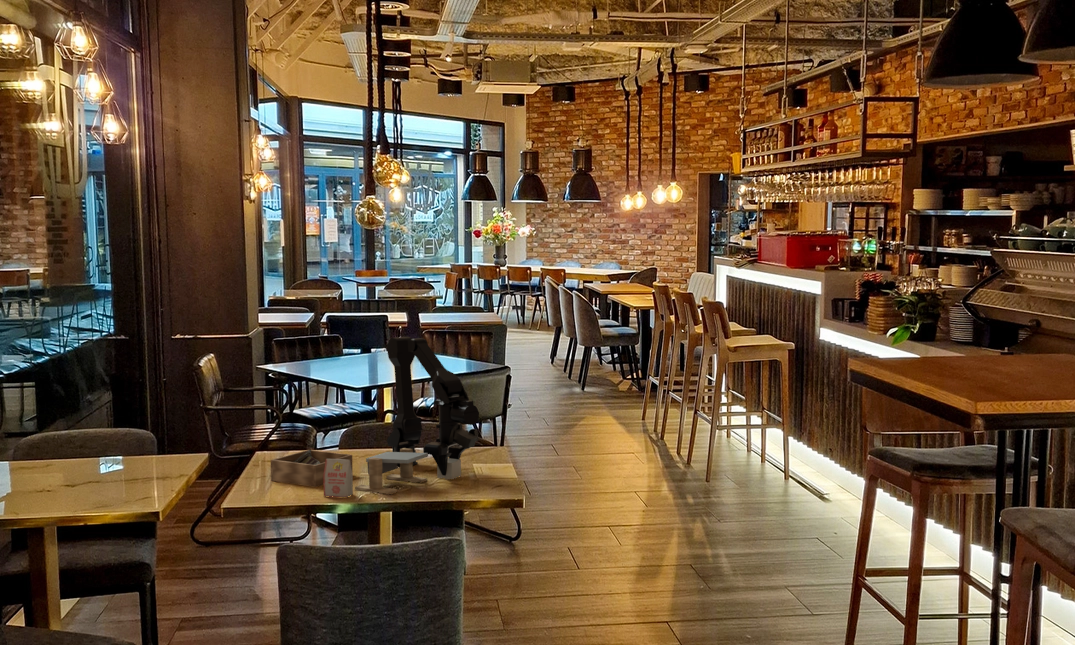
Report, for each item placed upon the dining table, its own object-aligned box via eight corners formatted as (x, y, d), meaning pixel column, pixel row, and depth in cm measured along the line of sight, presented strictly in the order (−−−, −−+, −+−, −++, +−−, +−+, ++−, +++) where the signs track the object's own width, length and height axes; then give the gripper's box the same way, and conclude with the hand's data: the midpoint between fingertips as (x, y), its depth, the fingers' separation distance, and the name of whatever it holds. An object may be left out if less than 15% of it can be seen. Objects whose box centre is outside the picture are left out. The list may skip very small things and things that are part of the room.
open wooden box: (271, 480, 268) (270, 460, 268) (309, 469, 283) (308, 449, 282) (315, 486, 261) (315, 465, 260) (352, 474, 275) (352, 454, 275)
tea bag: (329, 493, 254) (328, 457, 253) (352, 494, 252) (352, 458, 252) (323, 496, 250) (323, 460, 249) (347, 498, 249) (346, 461, 248)
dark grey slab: (367, 474, 260) (365, 458, 260) (388, 467, 269) (387, 451, 269) (408, 476, 254) (407, 459, 254) (428, 469, 263) (427, 453, 263)
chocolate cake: (293, 484, 266) (321, 452, 271) (277, 474, 269) (304, 442, 274) (307, 500, 273) (334, 468, 278) (291, 490, 277) (318, 459, 281)
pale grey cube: (437, 478, 272) (437, 461, 271) (446, 474, 276) (446, 457, 276) (451, 480, 270) (451, 462, 269) (460, 476, 274) (460, 459, 274)
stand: (355, 489, 258) (354, 457, 257) (392, 476, 273) (392, 446, 273) (390, 494, 252) (390, 461, 252) (426, 480, 268) (426, 450, 267)
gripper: (455, 428, 260) (455, 483, 261) (488, 417, 276) (488, 469, 278) (422, 424, 265) (422, 479, 266) (456, 415, 281) (457, 466, 283)
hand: (449, 473), depth 273 cm, fingers open, 5 cm apart
